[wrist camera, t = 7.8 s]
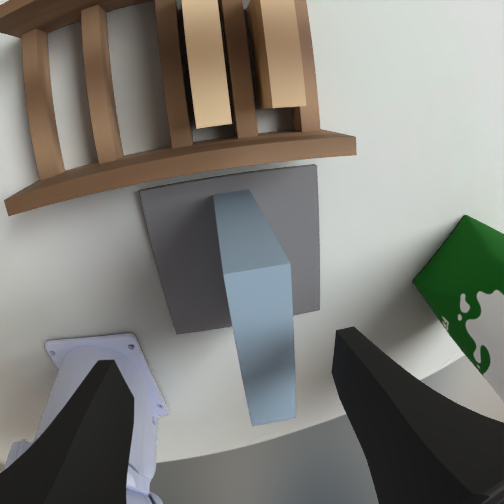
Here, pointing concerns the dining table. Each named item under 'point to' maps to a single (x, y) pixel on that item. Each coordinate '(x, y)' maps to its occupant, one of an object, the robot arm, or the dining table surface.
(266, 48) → the offcut
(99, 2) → the rack
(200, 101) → the offcut
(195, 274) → the grey mat
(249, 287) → the blue block
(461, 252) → the milk carton
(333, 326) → the dining table surface
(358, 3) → the dining table surface
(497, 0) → the dining table surface
